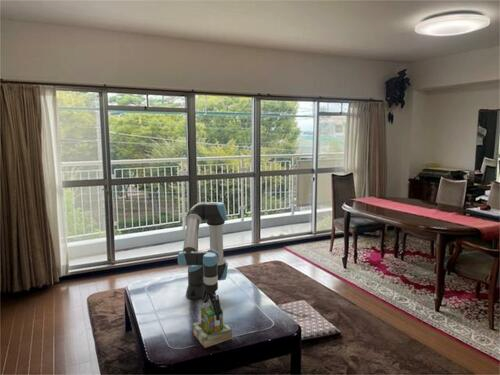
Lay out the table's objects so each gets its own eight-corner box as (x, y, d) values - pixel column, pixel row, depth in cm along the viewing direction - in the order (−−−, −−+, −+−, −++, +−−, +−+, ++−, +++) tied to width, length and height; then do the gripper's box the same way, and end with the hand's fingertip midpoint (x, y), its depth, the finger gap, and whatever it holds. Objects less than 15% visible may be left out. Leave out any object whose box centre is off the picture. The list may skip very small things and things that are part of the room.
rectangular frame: (192, 332, 200) (192, 323, 199) (218, 324, 208) (218, 315, 207) (204, 348, 186) (204, 338, 185) (232, 338, 194) (231, 329, 193)
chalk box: (200, 328, 197) (199, 302, 195) (215, 322, 202) (214, 298, 200) (208, 336, 190) (208, 309, 187) (223, 330, 195) (223, 304, 192)
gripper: (195, 275, 200) (196, 311, 204) (214, 293, 179) (215, 332, 183) (207, 272, 204) (208, 307, 208) (227, 289, 183) (228, 328, 187)
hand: (211, 319), depth 195 cm, fingers open, 13 cm apart
